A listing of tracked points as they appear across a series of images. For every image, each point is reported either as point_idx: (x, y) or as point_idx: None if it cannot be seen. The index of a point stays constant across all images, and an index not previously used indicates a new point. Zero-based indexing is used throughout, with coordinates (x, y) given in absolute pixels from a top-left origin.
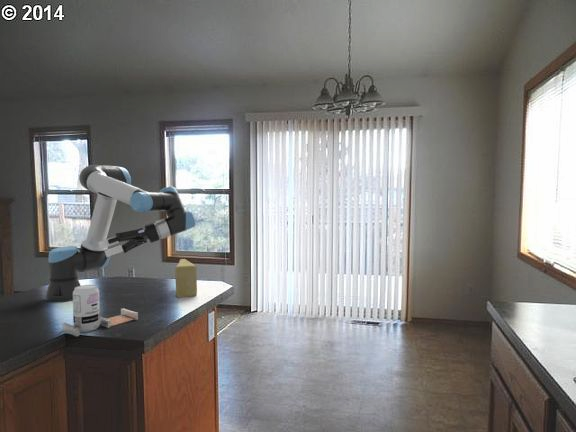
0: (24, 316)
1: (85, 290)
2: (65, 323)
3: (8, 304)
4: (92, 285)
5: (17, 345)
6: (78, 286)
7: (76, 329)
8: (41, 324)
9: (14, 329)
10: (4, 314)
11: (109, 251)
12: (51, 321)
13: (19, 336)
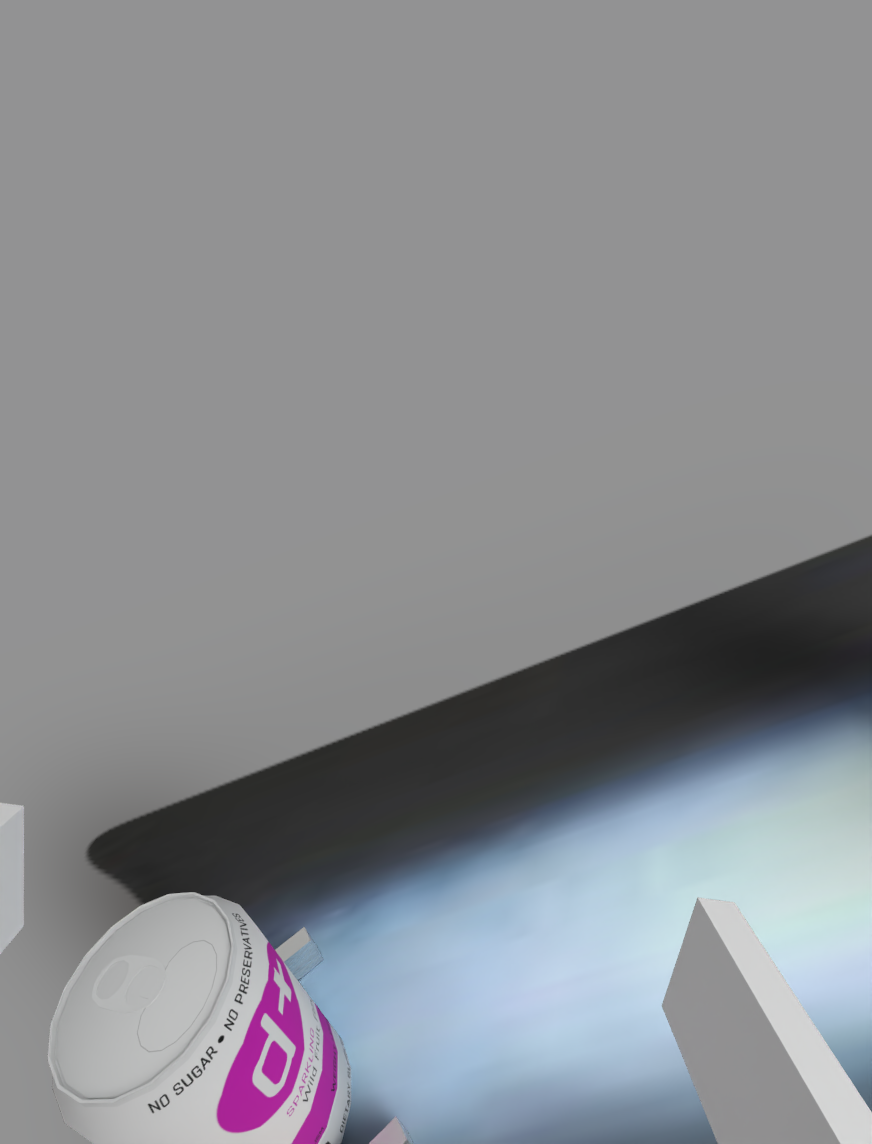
0: (605, 694)
1: (61, 1009)
2: (294, 946)
3: (795, 575)
4: (201, 1033)
5: (209, 820)
6: (217, 906)
7: None
8: (461, 805)
9: (421, 733)
10: (640, 624)
11: (728, 1024)
12: (501, 833)
13: (319, 785)
